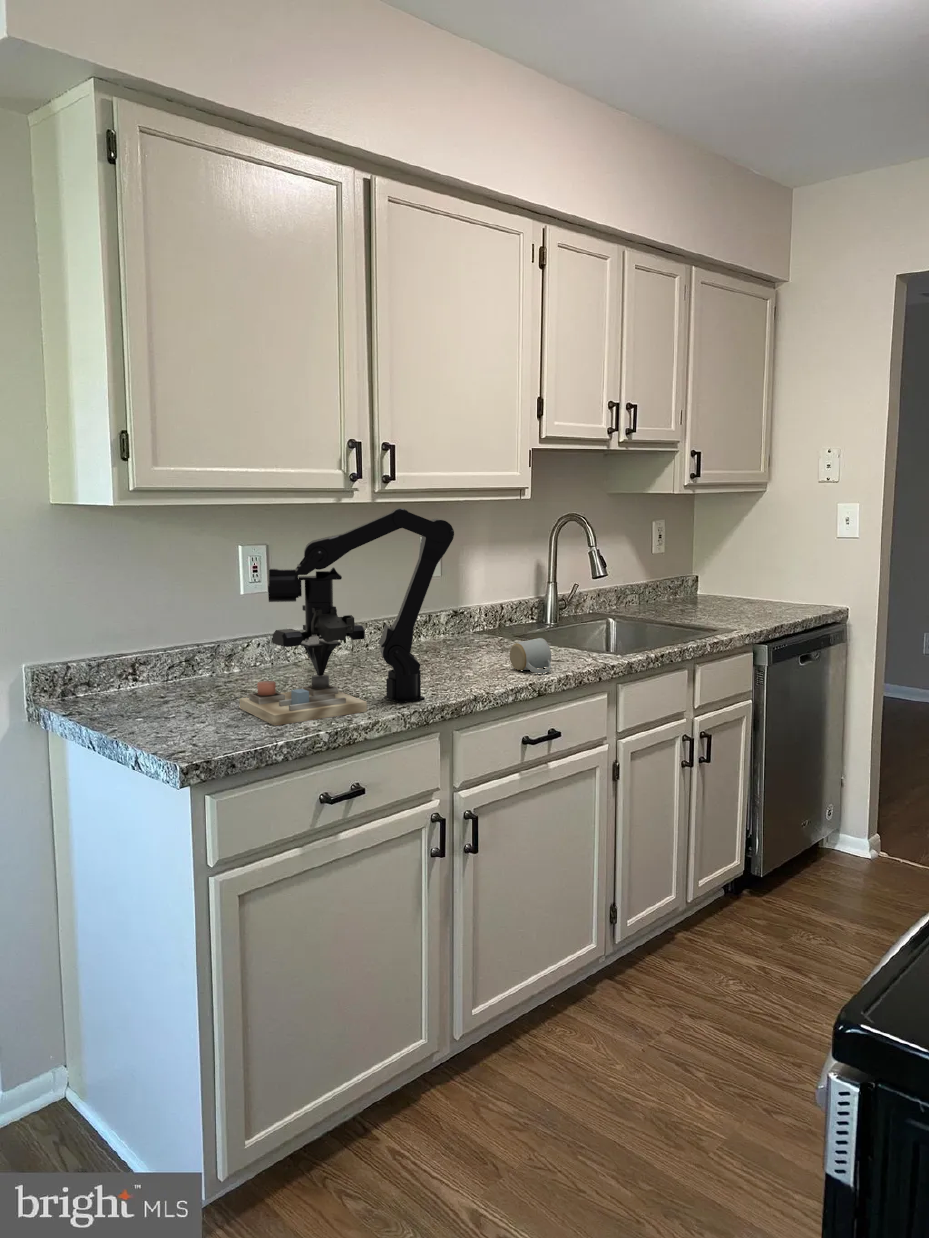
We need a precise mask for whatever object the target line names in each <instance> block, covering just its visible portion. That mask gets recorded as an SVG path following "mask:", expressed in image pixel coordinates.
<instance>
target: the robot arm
mask: <svg viewBox="0 0 929 1238" xmlns="http://www.w3.org/2000/svg"><path fill="white" fill-rule="evenodd" d="M399 529H404V530H407V531H408V532H411V533H413V534H417V535H419V536H421V538H420V544H419V554H418V559H417V561H416V565H415V567H414V570H413V573H412V575H411V579H410V581H409V583H408V587H407V589H406V592H405V595H404V598H403V601H402V603H401V605H400V609H399V611H398V614H397V617H396V619H395V620H394V622H393V623H392V625H391V626H389V625H387V624H384V626H383V632H382V635H381V637H380V638H379V640H378V643H379V652H380V654H381V656H382V658H383V660H384V661H385V663H386V664H387V665H389V666H391V668H392V669H391V670H387V678H386V679H385V681H386V691H385V693H386V695H384V699H386V700H390V701H392V702H395V703H398V704H404V702H405V703H411V702H417V701H423V700H426V697H425V696H423V695H422V694H421V693H422V692H421V690H422V687H421V685H422V684H421V683H422V682H421V675H422V673H421V669H420V668H421V663H420V662H419V660H418V659H417V658H416V657H415V656H414V655H413V654H412V653H411V652H412V647H413V646H412V645H413V641H414V639H413V638H414V632H415V631H414V629H415V625H416V623H417V619H418V617H419V614H420V613H421V609H422V605H423V603H424V601H425V597H426V595H427V593H428V591H429V590H428V589H429V587H430V585H431V581H432V578H433V576H434V573H435V571H436V567H437V566H438V564H439V562H440V561H441V560H442V558H443V557H444V555H446V553H447V551H448V549H449V547H450V545H451V544H452V542H453V541H454V540H453V539H454V537H455V530H454V528H453V526H452V524H451V523H450V522H449V521H447V520H445V519H444V520H443V519H439V518H432V519H427V518H425V517H423V516H419V515H417V514H415V513H413V512H409V511H408V510H407V509H405V508H400V507H398V508H395V509H394V510H391V512H389V513H386V514H384V515H382V516H380V517H377V518H375V519H372V520H371V521H369V522H366V523H364V524H362V525H359V526H357V527H355V528H352V529H350V530H348V531H346V532H343V533H339V534H335V535H331V536H329V535H328V536H327V537H322V538H321V537H320V538H317V539H314V540H311V541H310V542H308V543H307V544H306V546H305V548H304V550H303V558H302V560H301V561H300V562H299V563H297V565H296V568H295V569H292V568H291V569H289V568H288V569H278V568H269V570H268V585H267V588H268V590H267V591H268V593H267V594H268V595H267V596H268V603H287V602H288V603H289V602H290V603H291V602H293V603H295V602H297V599H298V598H301V597H302V595H303V594H302V591H303V590H302V581H304V604H303V605H302V611H304V614H305V617H304V618H305V624H302V631H301V630H296V629H293V628H286V629H285V628H284V629H283V628H281V629H275V631H274V632H273V635H272V644H274V645H277V646H280V647H283V648H287V647H288V648H290V647H291V648H292V647H298V646H301V647H303V649H304V650H305V651H306V654H307V655H308V657H309V660H311V664H312V665H313V668H314V670H315V672H316V675H319V676H323V675H325V671H326V668H327V665H328V663H329V660H330V657H331V655H332V652H333V650H335V649H336V648H337V646H341V645H342V642H343V641H346V637H349V638H350V640H352V641H355V640H365V639H366V630H365V627H364V626H363V625H361V624H358V623H355V617H354V615H352V614H348V615H343V616H338V613H337V611H338V610H337V606H335V605H334V587H333V586H334V584H333V583H334V581H333V580H337V581H339V580H342V579H343V578H342V575H341V574H340V573H339V572H338V571H337V570H336V568H335V567H331V569H330V570H324V569H327V568H328V567H329V566H331V565H332V564H334V563H335V562H337V561H338V560H340V559H341V558H342V557H343V556H345V555H346V554H347V553H349V552H351V551H352V550H354V549H357V548H360V547H361V546H364V545H366V544H368V543H370V542H372V541H374V540H377V539H379V538H382V537H384V536H386V535H388V534H390V533H393V532H395V531H397V530H399ZM314 570H316V571H315V575H308V574H310V573H311V572H313V571H314ZM317 570H318V571H317ZM322 570H324V571H322Z"/></svg>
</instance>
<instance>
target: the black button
mask: <svg viewBox="0 0 929 1238" xmlns="http://www.w3.org/2000/svg"><path fill="white" fill-rule="evenodd" d="M310 677H311V686H312V687H313V688H327V687H329V685H330V675H329V674H324V675H323V676H319V675H317V674H312V675H311V676H310Z"/></svg>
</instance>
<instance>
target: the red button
mask: <svg viewBox="0 0 929 1238" xmlns="http://www.w3.org/2000/svg"><path fill="white" fill-rule="evenodd" d="M276 683H277V682H276V681H272V680H263V681H258V682H257V683H256V685H257V693H258V695H274V694H276V692H277V689H276V688H277V687H276V686H277V684H276Z"/></svg>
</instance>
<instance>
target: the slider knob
mask: <svg viewBox="0 0 929 1238" xmlns="http://www.w3.org/2000/svg"><path fill="white" fill-rule="evenodd" d="M290 690H291V691H290V692H291V704H293V705H295V704H302V703H309V691H307V690H304V689H303V688H297V689H290Z"/></svg>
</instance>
